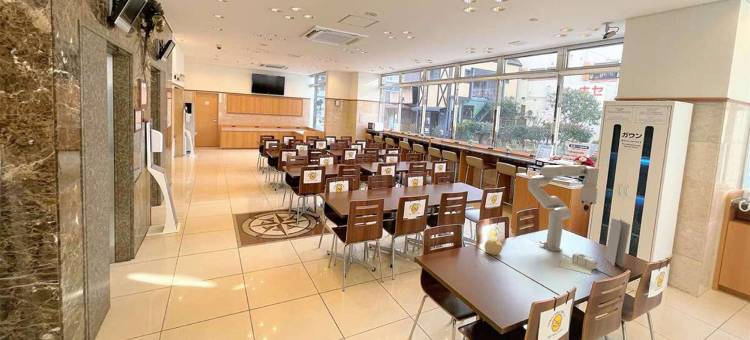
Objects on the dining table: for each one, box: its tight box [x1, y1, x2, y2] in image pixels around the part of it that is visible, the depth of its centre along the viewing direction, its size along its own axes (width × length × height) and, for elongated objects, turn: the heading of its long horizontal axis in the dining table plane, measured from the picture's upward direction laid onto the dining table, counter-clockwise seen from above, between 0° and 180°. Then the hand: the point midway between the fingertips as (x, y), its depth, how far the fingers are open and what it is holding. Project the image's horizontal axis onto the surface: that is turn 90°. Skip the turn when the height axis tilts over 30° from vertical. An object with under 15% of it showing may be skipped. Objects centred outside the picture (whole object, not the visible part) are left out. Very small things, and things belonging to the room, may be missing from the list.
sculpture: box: [484, 238, 503, 256], centre depth 254 cm, size 11×12×11 cm
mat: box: [559, 257, 592, 275], centre depth 241 cm, size 18×20×1 cm
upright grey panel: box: [604, 217, 631, 268], centre depth 248 cm, size 14×6×30 cm, turn 168°
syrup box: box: [571, 252, 599, 270], centre depth 242 cm, size 6×6×14 cm
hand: (585, 210), depth 250 cm, fingers closed
